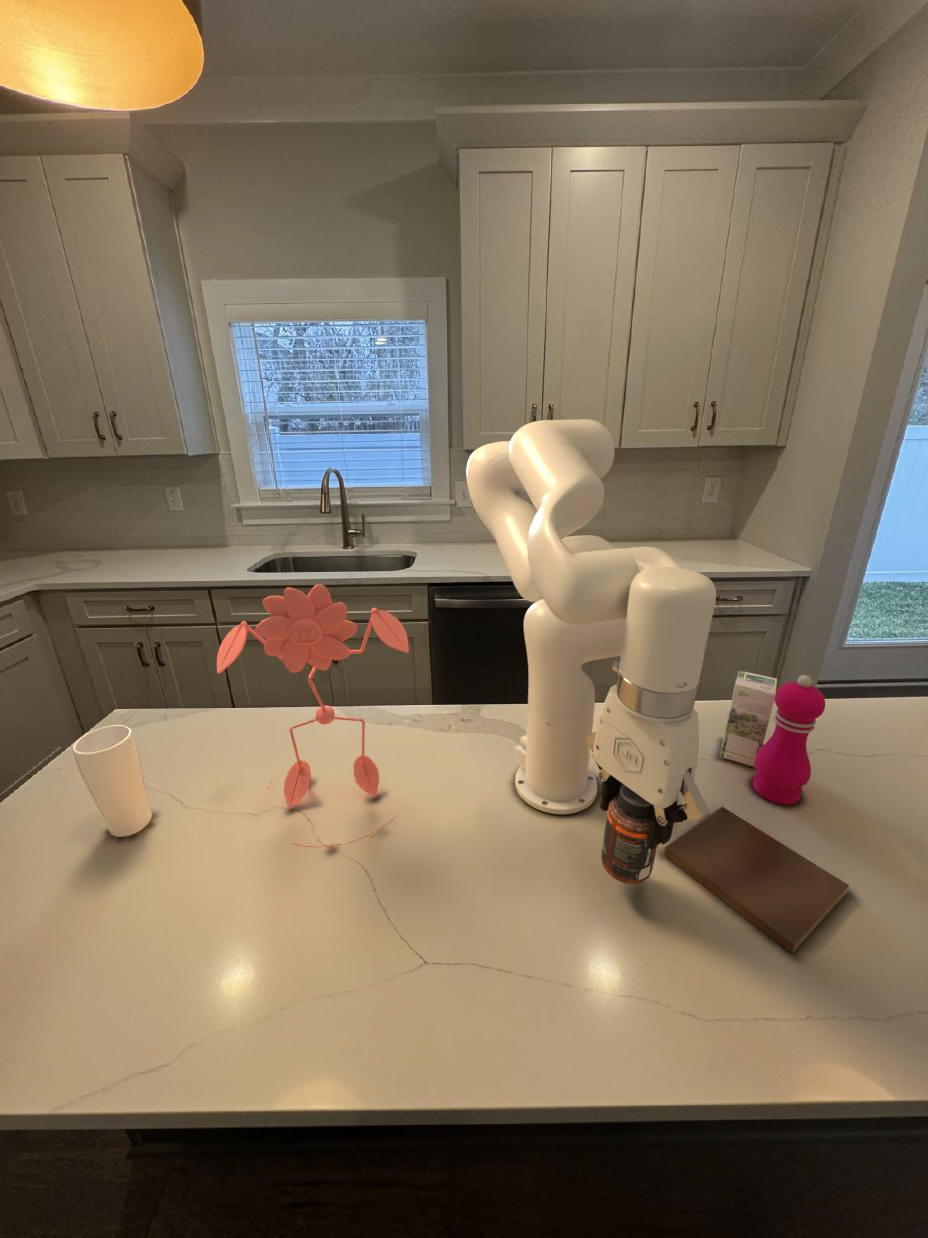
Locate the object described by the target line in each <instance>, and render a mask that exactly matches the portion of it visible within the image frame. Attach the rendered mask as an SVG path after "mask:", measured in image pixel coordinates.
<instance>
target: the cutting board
mask: <svg viewBox="0 0 928 1238" xmlns="http://www.w3.org/2000/svg"><path fill="white" fill-rule="evenodd" d="M664 856H665V857H666V858H667V859H668V860H670V861H671V862H673V863H674V864H675V865H676V866H678V867H679V868H680V869H682V871H684V872H685V873H687V874H688V875H689V876H691V877H692V878H694V880H696V882H698V883H699V884H701V885H702V886H703V887H705V888H706V889H707V890H709V891H710V892H711V893H713V894H714V895H715V896H716V897H718V898H719V899H720V900H722V901H723V902H724V903H725V904H727V905H728V906H729V907H731V908H732V909H733V910H735V911H736V912H737V913H738V914H740V915H741V916H742V917H743V918H744V919H746V920H747V921H749V922H750V923H752V925H754V926H755V927H757V928H758V929H759V930H761V931H762V932H763V933H764V934H766V935H767V936H768V937H769V938H771V939H772V940H773V941H775V942H776V943H777V944H778V945H780V946H781V947H782V948H784V949H785V950H786V951H787V952H789V953H790V954H794V952H796V950H798V948H799V947H800V946H801V945H802V944H803V942H805V940H806V939H807V938H808V937H809V936H810V935H811V934H812V932H813V931H814V930H815V929H816V928H817V927H818V926H819V925H820V923H821V922H822V921H823V920H824V919H825V918H826V917H827V916H828V915H829V913H830V912H831V911H832V910H833V909H834V908H835V907H836V906H837V905H838V904H839V902H840V901H841V900H842V899H843V898H844V897H845V896H846V894H847V892H848V889H849V887H850V885H849V884H848V883H846V882H845V881H843V880H841V879H840V878H838V877H837V876H835V875H833V874H832V873H830V872H829V871H827V870H825V869H824V868H823V867H820V866H819V865H817V864H816V863H814V862H812V861H811V860H809V859H807V858H806V857H805V856H803V855H801V854H800V853H798V852H796V851H795V850H793V849H792V848H790V847H788V846H787V845H785V844H784V843H782V842H781V841H779V840H777V839H776V838H774V837H772V836H770V835H769V834H768V833H766V832H765V831H763V830H762V829H759V827H756V826H755V825H753V824H752V823H749V822H748V821H747V820H745V819H743V818H742V817H741V816H739V815H737V814H736V813H734V812H732V811H731V810H729V809H728V808H726V807H724V806H721V807H719V808H718V809H717V810H715V811H713V813H711V814H709V815H707V816H706V817H705V818H703V819H702V820H700V822H699V823H698V824H696V825H695V826H693V827H691V828H690V829H688V830H687V831H686V832H685V833H683V834H682V835H680V836H679V837H678V838H676V839H675V840H673V841H672V842H670V843H669V844H668V845H667V846H665V850H664Z"/></svg>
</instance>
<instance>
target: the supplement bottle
mask: <svg viewBox="0 0 928 1238" xmlns="http://www.w3.org/2000/svg"><path fill="white" fill-rule="evenodd" d="M655 816H656V815H655V810H654V805H653V804H651V803H649V802H648V801H646V800H645V799H643V798H642V797H641V796H639V795H638V794H636V793H635V792H634V791H632V790H631V789H629V788H628V787H627V786H625V785H624V784H623V785H622V786H621V788H620V792H619V794H618V795H616V796H615V797H614V798H612V800H611V801H610V803H609V807H608V810H607V811H606V820H605V826H604V832H603V841H602V847H601V857H600V859H601V864H602V866H603V868H604V869H605V871H606V873H608V875H610V877H612V878H613V879H615V880H617V881H618V882H621V883H624V884H627V885H638V884H642V883H645V882H646V881H647V880H648V879H649V878H650V876H651V874H652V871H653V868H654V862H655V858H656V854H657V849H658V846H656V847H655V848H653V849H652V850H651V849H650V848H648V847H647V844H646V841H647V835H648V830H649V824H650V820H651V819H652V818H653V817H655Z"/></svg>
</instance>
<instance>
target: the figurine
mask: <svg viewBox="0 0 928 1238" xmlns="http://www.w3.org/2000/svg"><path fill="white" fill-rule="evenodd" d="M262 607H263V608H264V609H265V610H266V612H267V613H268V614H269V615H270V616H268V617H267V618H265V619H262V620H261V621H260V622H259V623H258V624H256V626H255V628H254V629H252V627H250V626H249V625H248V622H247V621H244V620H243V621H241V622H240V624H238V625H236V626H233V628H231V630H230V631H229V632H228V633H227V634H226V635H225V637H224V638H223V640H222V642H221V644H220V645H219V649H218V651H217V655H216V673H217V674H218V675H219V674H221V673H222V672H224V671H225V670H227V668H230V666H231V665H232V664H233V663H234V662H236V661H237V659H238V658H239V657H240V655H241V654H242V652H243V650H244V647H245V645H246V643H247V638H248V633H250V634H251V636H252V637H254V638H255V639H256V640H258V641H259V642H260V643H261V644H262V645H263V651H264V654H265V655H266V656H269V657H277V658H278V659H279V660H280V661H281V662H283V664H284V667H286V669H287V670H288V671H289V672H290V673H291V674H294V673H295V674H296V673H300V672H301V671H303V670H304V668H305V666H306V663H307V664H308V665H310V666H311V667H312V669H311V671H310V673H309V675H308V677H307V679H308V681H307V683H308V685H309V687H310V689H311V691H312V692H313V695H314V697H315V699H316V700H317V702H318V704H319V707H318V708H317V709H316V711H315V718H313V719H310V720H307V721H304V722H301V723H298V724H296V725H293V726H289V729H288V730H289V734H290V738H291V742H292V746H293V751H294V754H295V758H296V762H294V764H293V765H292V766H291V767H290V769H289V770H288V772H287V773H286V776H285V779H284V785H283V794H284V797H285V802H286V805H287V807H288V809H289V810H291V809H293V808H294V807H295V806H296V805H297V804H298V803H300V802H301V800H302V799H304V797H306V794H307V793H308V790H309V789H310V785H311V780H312V771H311V766H310V764H309V763H308V762H307V760H303V759H300V755H299V751H298V747H297V743H296V740H295V736H294V731H293V730H294V729H296V728H300V727H302V726H305V725H309V724H311V723H314V722H317V723H319V724H321V725H330V724H331V723H332V722H333V721H334V720H337V721H338V720H339V721H353V722H361V755H360V756H357V757H356V758H355V760H354V762H353V778H354V780H355V783H356V784H357V786H358V787H359V788H360V790H362V791H364V792H365V793H367V794H368V795H369V796H372V797H373V798H376V797H377V795H378V791H379V785H380V774H379V769H378V767H377V764H376V763H375V762H374V760H372V759H371V758H370V757H369V756H368V755H365V740H366V739H365V734H366V733H365V732H366V731H365V730H366V729H365V727H366V725H365V724H366V721H365V719H364V718H355V717H354V718H353V717H345V716H344V717H343V716H336V714H335V713H336V712H335V710H334V708H333V707H332V706H331V705H325V704H324V703H323V700H322V698H321V696H320V694H319V692H318V690H317V688H316V686H315V684H314V681H313V679H314V676H315V673H316V671H317V670H320V671H327V670H329V668H331V664H332V661H339V660H345V659H347V658H349V657H350V655H351V654H352V655H353V654H357V655H358V654H360V655H361V654H363V652H365V648H366V646H367V643H368V640H369V637H370V636H369V635H370V633H371V631H372V627H373V631H374V632H375V634H376V635H377V637H378V638H379V640H380V641H382V642H383V643H384V644H385V645H386V646H387V647H388V648H391V649H394V650H396V651H399V652H401V653H405V654H409V652H410V651H409V648H410V647H409V639H408V633H407V632H406V631H407V630H406V629H405V627H404V625H403V623H402V622H401V621H400V619H398V618H397V616H395V615H394V614H392V613H391V612H390V613H389V612H388V611H387V610H385V609H384V610H383V609H378V608H377V607H372V608H371V610H370V611H371V615H370V618H369V621H368V624H367V627H366V630H365V633H364V637H363V640H362V643H361V646H360V649H350V648H349V646H348V645H347V644H345V643H344V641H346V640H348V639H350V638H352V637H354V635H356V633H357V632H358V629H359V626H358V625H357V623H356V622H354V621H352V620H348V619H347V615H348V607H347V604H346V603H345V602H343V601H339V602H334V603H333V600H332V595H331V592H330V591H329V589H328V588H327V586H325V585H324V584H322V583H317V584H315V585H314V586H313V587H312V588H311V589H310V590H309V592H308V593H307V594H306V593H304V592H303V591H301V590H299V589H296V588H294V587H286V588H285V589H284V590H283V596H282V595H269V596H266V597H265V598H263V599H262ZM264 638H265V639H264ZM272 783H273V781H271V782H270V784H269V785H268V786H267V788H266V789H267V790H268V789H269V788H270V786H271V784H272ZM397 816H398V814H395V816H394V817H393V818H392V819H390V820H389V822H387V823H386V824H384V825H383V826H381V827H380V828H379V829H377V830H375V831H373V832H371V833H370V834H368V835H365V836H362V837H360V838H358V839H355V840H351V841H348V842H345V843H340V844H334V845H324V846H320V848H328V851H330V850H334V849H336V847H337V849H339V848H340V847H338V846H344V845H347V844H350V843H354V842H357V841H360V840H362V839H364V838H367V837H369V836H370V837H369V839H371V838H372V837H374V836H376V835H377V832H379V831H380V830H382V829H383V828H384V827H386V826H387V825H389V824H390V823H391V822H392V821H393V820H394V819H395V818H396V817H397ZM371 835H372V836H371ZM292 845H296V846H299V847H305V848H318V846H315V845H314V846H312V845H302V844H298V843H294V842H292Z"/></svg>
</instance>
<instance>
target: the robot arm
mask: <svg viewBox="0 0 928 1238" xmlns="http://www.w3.org/2000/svg"><path fill="white" fill-rule="evenodd" d="M613 439H614V438H613V436H612V435H611V432H610V431H609V430H608V428H607V427H606V426H605V425H604V424H603V423H601V422H600V421H597V420H595V419H588V418H587V419H586V418H585V419H584V418H583V419H543V420H535V421H531V422H529V423H526V424H524V425H522V426H521V427H520V428H518V430H516V431H515V432H514V434H513V435H512V437H511V439H510V440H507V441H506V440H504V441H495V442H490V443H487V444H483V445H482V446H480V447H478V448H477V449H475V450H474V451H473V452H472V453H471V454H470V456H469V458H468V460H467V464H466V471H465V472H466V484H467V489H468V494H469V497H470V500H471V503H472V505H473V508H474V510H475V512H476V514H477V516H478V517H479V519H480V520H481V522H482V523H483V525H484V526H485V527H486V528H487V530H488V531H489V532H490V534H491V536H492V537H493V538H494V539H495V542H496V544H497V546H498V549H499V552H500V554H501V556H502V559H503V562H504V564H505V567H506V569H507V571H508V573H509V575H510V578H511V580H512V583H513V585H514V587H515V590H516V591H517V593H518V594H519V596H520V597H521V598H523V599H524V600H525V601H527V602H530V603H532V604H531V605H530V606H529V608H527V610H526V612H525V614H524V617H523V635H524V642H525V649H526V656H527V667H528V672H527V673H528V685H527V686H528V689H527V690H528V693H527V718H526V719H527V720H526V721H527V725H526V734H523V735H522V736H521V737H520V740H519V743H520V744H516V745H515V746H514V749H513V751H514V752H515V753H516V754H517V755H518V756H520V757H521V765H520V766H519V768H518V769H517V771H516V773H515V779H514V780H515V782H514V783H515V789H516V791H517V794H518V795H519V797H520V798H521V800H523V801H524V802H525V803H526V804H528V805H529V806H531V807H532V808H534V809H535V810H536V809H537V810H538V811H540V812H544V813H547V814H553V815H571V814H575V813H579V812H582V811H583V810H585V809H588V808H589V807H591V805H592V804H594V803H593V802H594V801H595V800H596V798H597V794H598V782H597V778H596V777H595V775H594V773H593V772H592V771H591V770H590V769H589V767H590V759H591V758H590V757H591V752H592V753H593V759H594V761H595V763H596V766H597V767H598V770H599V771H598V778H599V780H600V781H602V784H601V791H600V802H599V809H600V810H601V811H603V812H608V807H609V803H610V801H611V800H612V798H614V797H615V796H616V795H618V794H619V792H620V788H621V786H622V785H623V784H624V785H625V786H627V787H628V788H629V789H631V790H632V791H634V792H635V793H636V794H638V795H639V796H641V797H642V798H643V799H645V800H646V801H648V802H649V803H651V804H653V805H654V810H655V815H656V816H655V817H653V818H652V819H651V820H650V824H649V830H648V835H647V841H646V844H647V847H648V848H650V849H651V850H652V849H653V848H655V847H656V846H657V847H658V846H659V845H663V846H664V845H665V844H667V843H668V842H669V841H670V840H671V838H672V835H673V830H674V826H675V824H678V823H683V822H685V821H689V822H690V821H691V822H692V821H702V820H704V819H705V818H706V817H708V816H709V815H710V808H709V807H708V805H707V803H706V800H705V799H704V797H703V795H702V794H701V791H700V790H699V787H698V786H697V784H696V782H695V777H696V771H697V766H698V758H699V757H698V756H699V747H700V722H699V712H698V711H697V710H695V709H694V706H695V703H696V698H697V692H698V688H699V682H700V680H701V679H700V678H701V673H702V669H703V664H704V659H705V654H706V650H707V645H708V640H709V635H710V631H711V626H712V621H713V620H712V619H713V616H714V612H715V606H716V602H717V590H716V586H715V584H714V581H712V579H711V578H709V577H708V576H707V575H705V574H702V573H700V572H698V571H696V570H695V571H694V570H693V569H692V570H691V569H687V568H684V567H683V566H682V565H681V564H680V563H679V562H678V561H676V559H674V558H673V557H672V556H671V555H670V554H669V553H667V552H666V551H665V550H663V549H661V548H658V547H655V546H635V547H625V548H614V546H613V544H611V543H610V542H609V541H608V540H606V539H604V538H603V537H600V536H598V535H591V534H584V535H573V536H572V535H571V534H574V533H575V532H577V531H578V530H580V529H581V528H583V527H584V526H586V525H587V524H588V523H590V522H591V521H592V520H593V519H594V518H595V517H596V516H597V514H599V513H598V512H599V511H600V509H601V508H602V506H603V503H604V501H605V487H604V484H603V481H602V480H601V479H603V478H605V476H606V475H608V473H609V472H610V470H611V469H612V466H613V463H614V459H615V451H616V450H615V443H614V440H613ZM520 496H528V498H529V499H530V501H531V503H532V504H531V503H529V502H528V501H526V500H524V499H522V498H521V497H520ZM569 535H570V536H569ZM616 657H620V659H615V660H614V661H613V663H612V665H611V670H612V671H614V672H616V674H617V681H616V683H615V684H613V685H611V687H610V688H609V690H608V692H607V695H606V697H605V699H604V703H603V705H602V708H601V710H600V715H599V719H598V722H597V726H596V730H595V731H594V732H593V726H594V725H593V724H594V716H595V706H596V705H595V702H596V688H595V685H594V683H593V680H592V678H590V676H589V675H588V674H587V673H586V671H584V670H583V665H584V664H585V663H590V662H594V661H599V660H604V659H610V658H616ZM680 794H681V796H682V798H683V800H684V802H685V803H684V804H681V799H680Z"/></svg>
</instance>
